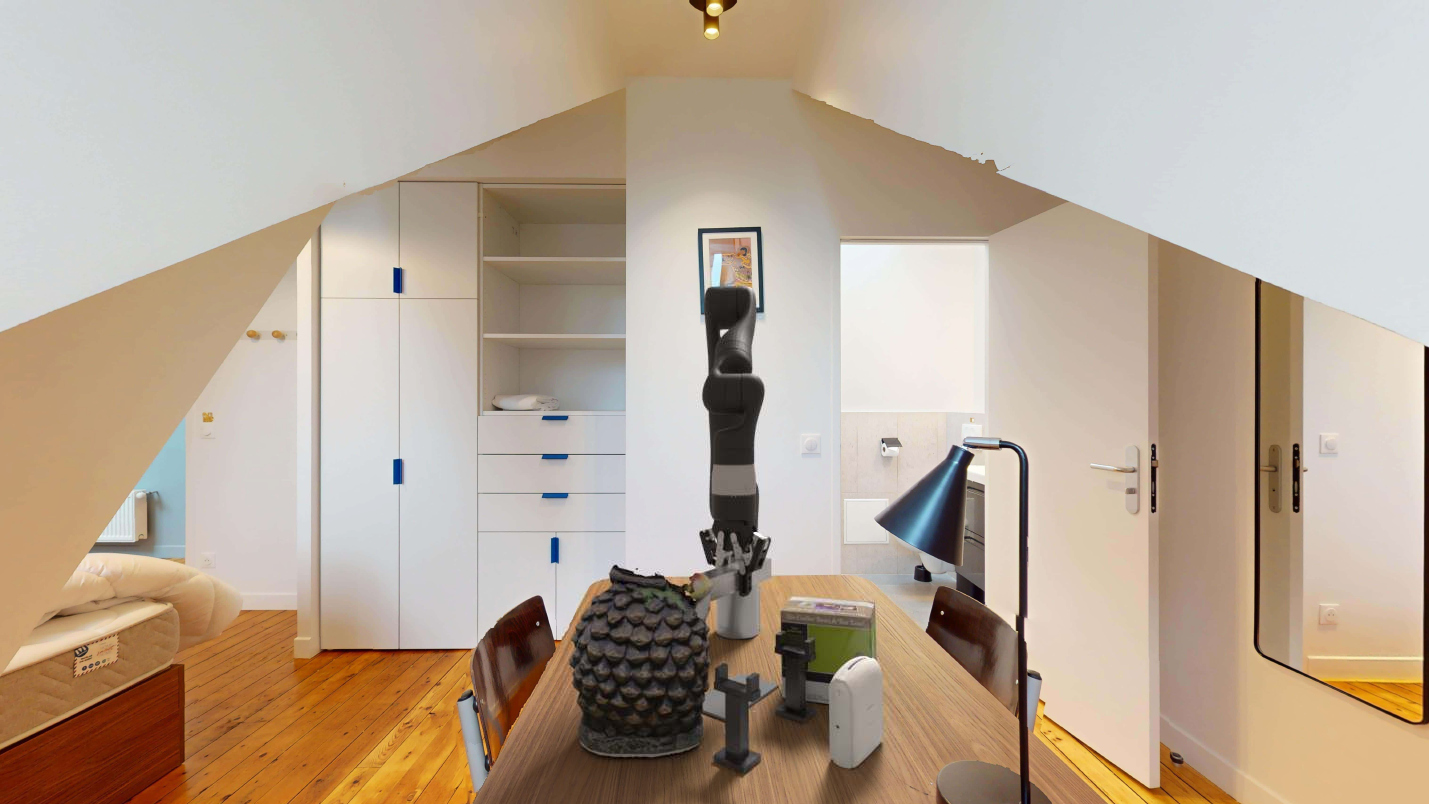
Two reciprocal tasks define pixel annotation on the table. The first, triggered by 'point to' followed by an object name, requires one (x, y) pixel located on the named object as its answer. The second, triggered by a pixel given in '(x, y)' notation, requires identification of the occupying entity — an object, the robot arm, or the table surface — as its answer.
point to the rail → (733, 578)
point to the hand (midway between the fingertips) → (734, 593)
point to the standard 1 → (737, 720)
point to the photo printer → (855, 711)
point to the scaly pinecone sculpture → (643, 665)
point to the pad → (716, 699)
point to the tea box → (828, 637)
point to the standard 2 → (795, 678)
